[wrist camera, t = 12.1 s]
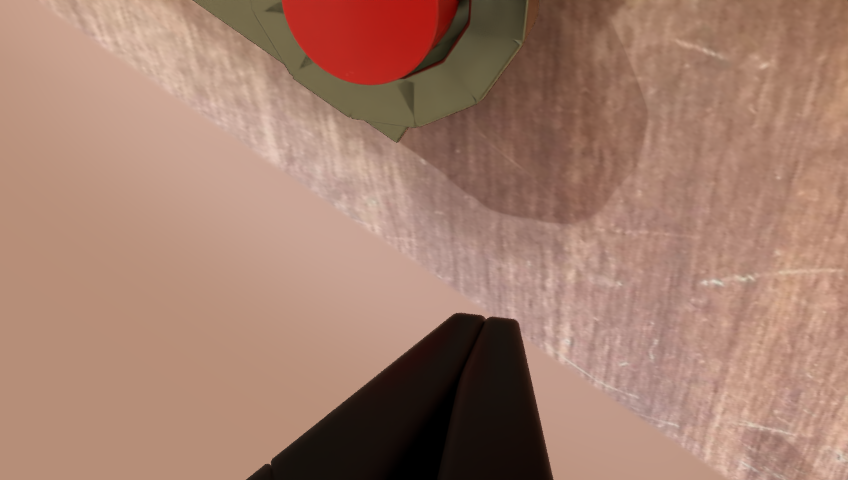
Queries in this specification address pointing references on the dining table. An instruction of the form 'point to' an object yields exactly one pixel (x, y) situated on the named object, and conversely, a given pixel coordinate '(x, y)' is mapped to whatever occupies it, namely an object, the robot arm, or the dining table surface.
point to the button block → (417, 91)
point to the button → (369, 35)
